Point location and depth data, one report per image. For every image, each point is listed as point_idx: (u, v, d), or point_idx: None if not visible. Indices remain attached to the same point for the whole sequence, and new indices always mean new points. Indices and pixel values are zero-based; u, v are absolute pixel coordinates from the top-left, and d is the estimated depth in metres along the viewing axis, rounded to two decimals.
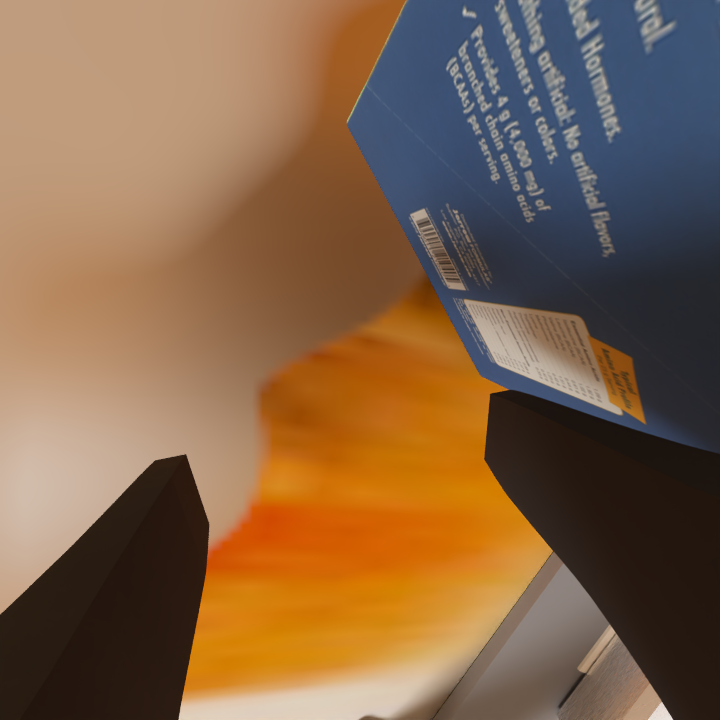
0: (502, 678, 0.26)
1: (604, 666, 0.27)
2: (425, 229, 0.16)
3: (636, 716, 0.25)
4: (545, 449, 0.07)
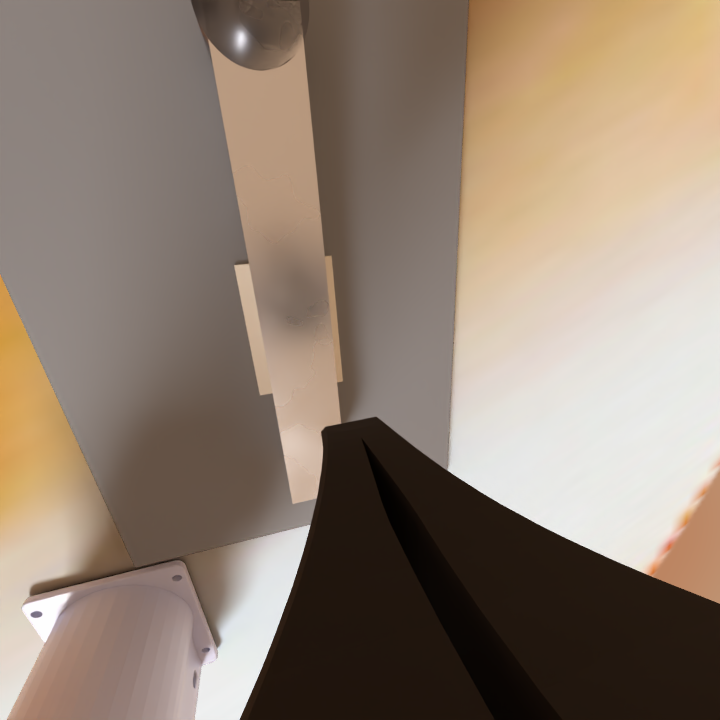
0: (137, 466, 0.17)
1: None
2: None
3: (308, 409, 0.14)
4: (379, 488, 0.07)
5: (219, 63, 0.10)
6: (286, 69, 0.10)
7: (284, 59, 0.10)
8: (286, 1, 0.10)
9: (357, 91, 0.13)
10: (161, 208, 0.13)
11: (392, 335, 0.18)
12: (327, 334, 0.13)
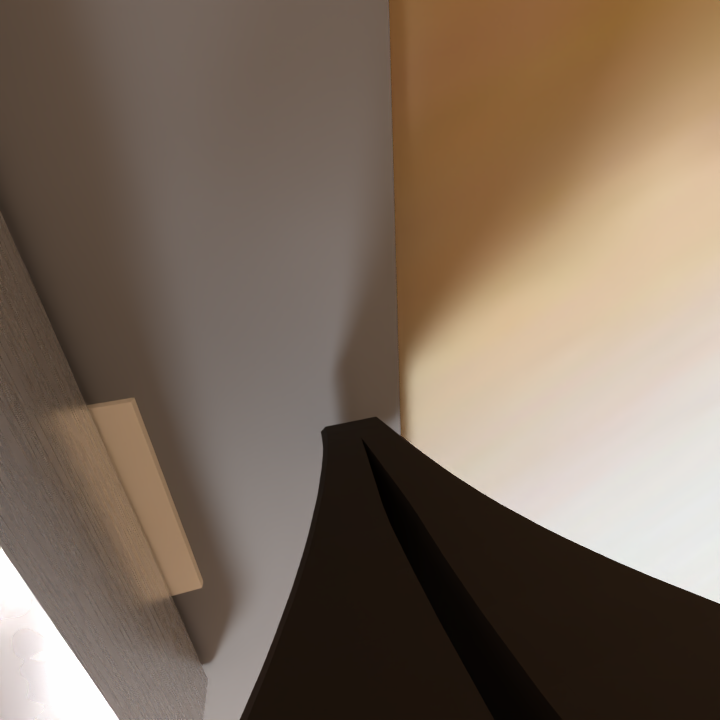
0: None
1: None
2: None
3: None
4: (379, 489, 0.07)
5: None
6: None
7: None
8: None
9: (122, 57, 0.06)
10: None
11: (288, 507, 0.10)
12: (51, 641, 0.06)
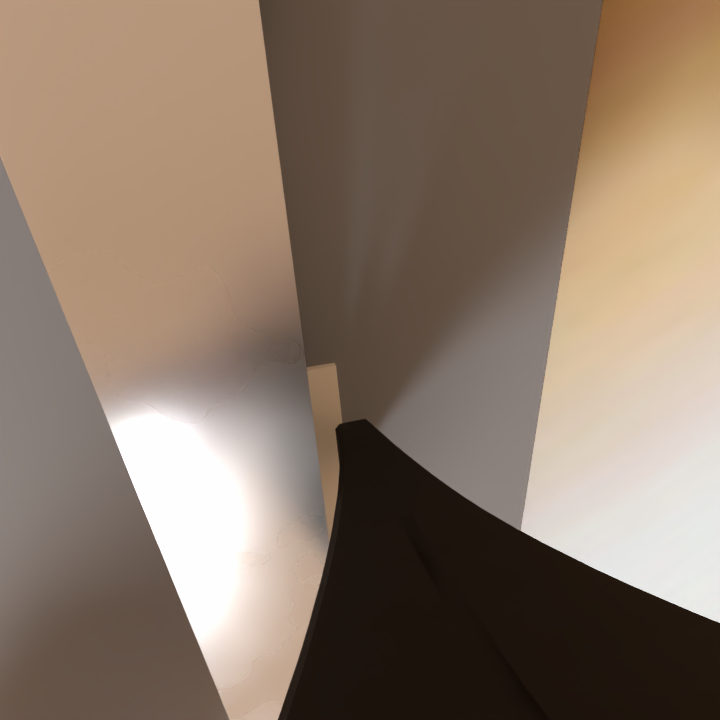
0: (15, 701, 0.10)
1: None
2: None
3: (284, 681, 0.07)
4: None
5: None
6: None
7: None
8: None
9: (387, 53, 0.06)
10: None
11: (436, 471, 0.11)
12: (322, 566, 0.06)
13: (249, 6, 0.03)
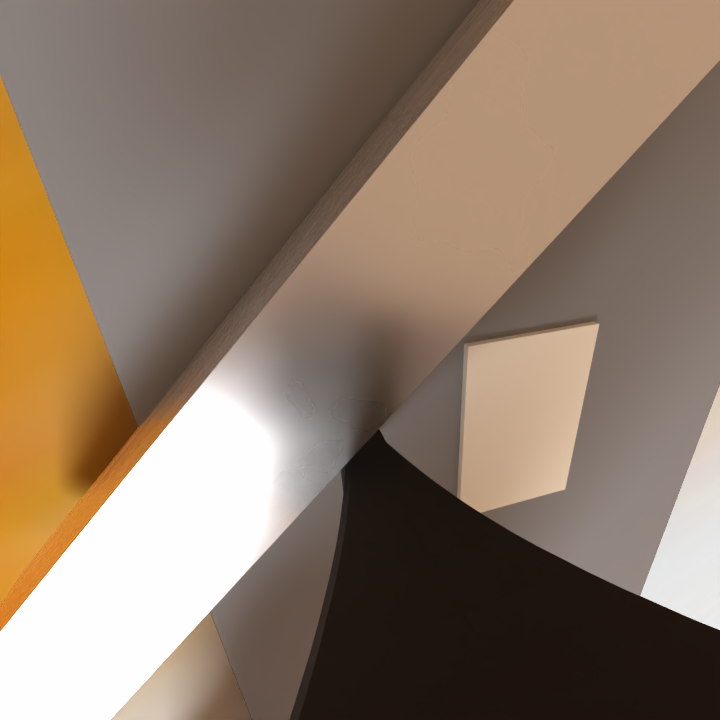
0: (281, 622, 0.12)
1: (154, 410, 0.07)
2: None
3: (153, 573, 0.06)
4: None
5: None
6: None
7: None
8: None
9: None
10: None
11: (637, 423, 0.12)
12: (330, 466, 0.06)
13: (711, 59, 0.05)
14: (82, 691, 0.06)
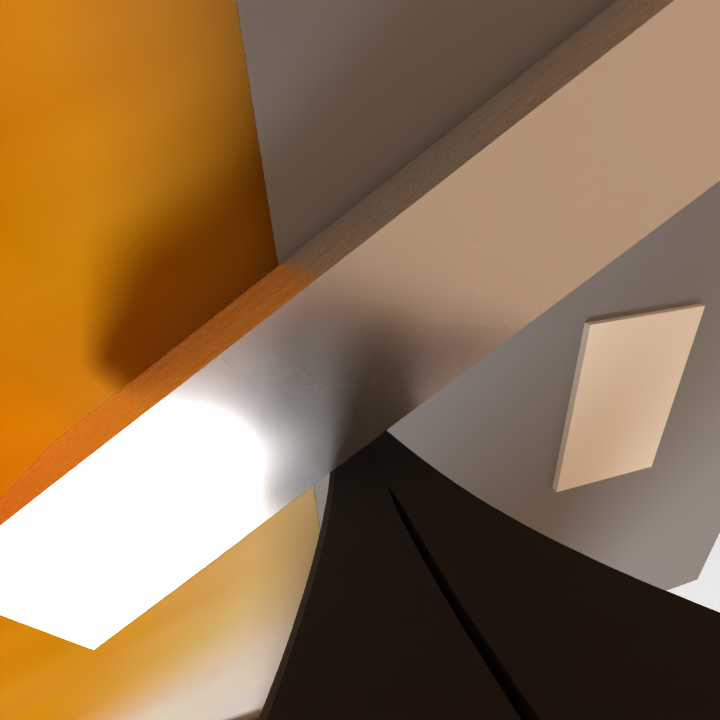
0: None
1: (257, 287, 0.07)
2: None
3: (261, 433, 0.05)
4: None
5: None
6: None
7: None
8: None
9: None
10: None
11: None
12: (467, 357, 0.05)
13: None
14: (133, 565, 0.05)
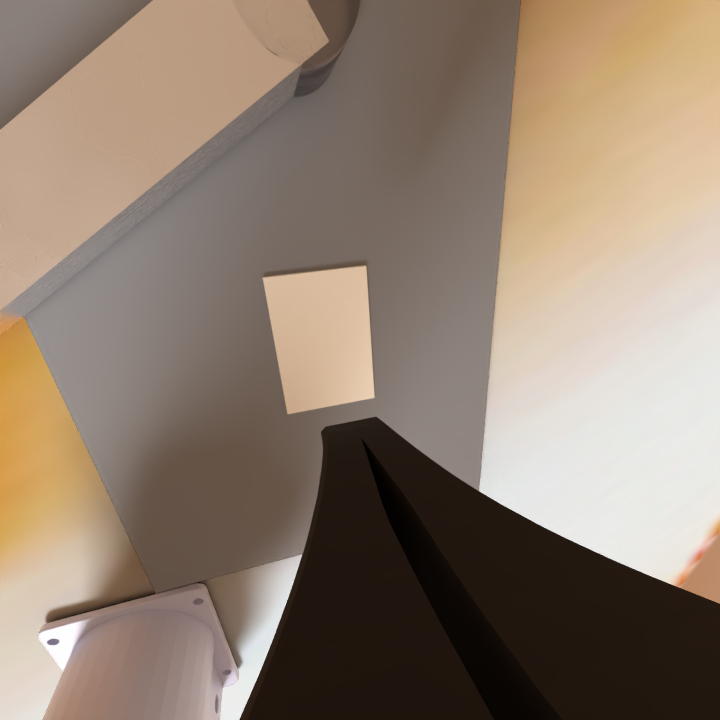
0: (158, 490, 0.16)
1: None
2: None
3: None
4: (379, 489, 0.07)
5: None
6: (266, 55, 0.08)
7: (273, 48, 0.08)
8: (320, 26, 0.09)
9: (398, 85, 0.12)
10: (185, 217, 0.12)
11: (427, 348, 0.16)
12: (30, 275, 0.09)
13: (268, 85, 0.09)
14: None
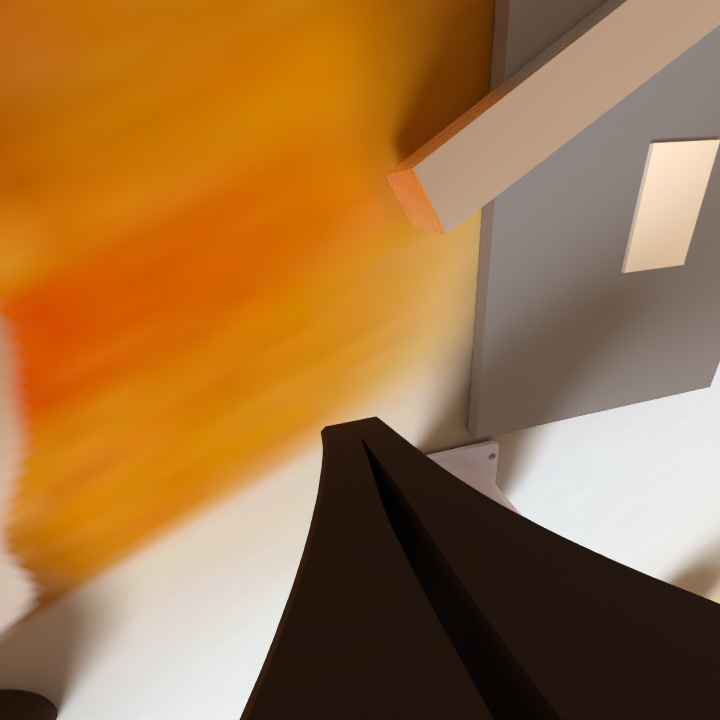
0: (515, 336, 0.19)
1: (506, 82, 0.14)
2: None
3: (540, 116, 0.12)
4: (379, 488, 0.07)
5: None
6: None
7: None
8: None
9: None
10: None
11: None
12: (622, 93, 0.12)
13: None
14: (476, 182, 0.12)
